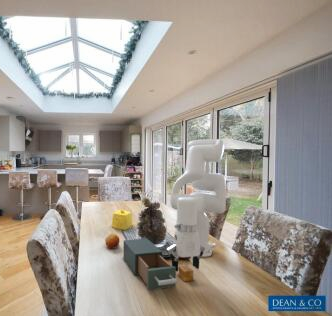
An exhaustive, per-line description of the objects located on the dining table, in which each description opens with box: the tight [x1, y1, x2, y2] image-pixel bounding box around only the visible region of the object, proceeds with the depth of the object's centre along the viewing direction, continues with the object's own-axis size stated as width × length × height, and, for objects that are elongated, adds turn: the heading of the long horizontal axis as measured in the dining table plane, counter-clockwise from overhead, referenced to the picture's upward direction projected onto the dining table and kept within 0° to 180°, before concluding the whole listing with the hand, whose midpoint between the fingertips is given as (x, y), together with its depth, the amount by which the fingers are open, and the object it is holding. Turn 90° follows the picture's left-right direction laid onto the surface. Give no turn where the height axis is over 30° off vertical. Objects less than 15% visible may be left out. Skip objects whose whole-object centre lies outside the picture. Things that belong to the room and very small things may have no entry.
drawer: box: [137, 254, 178, 291], centre depth 83 cm, size 18×11×7 cm, turn 12°
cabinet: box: [123, 238, 163, 276], centre depth 96 cm, size 15×13×9 cm
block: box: [178, 265, 194, 282], centre depth 86 cm, size 4×4×4 cm
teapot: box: [111, 209, 133, 231], centre depth 148 cm, size 20×12×12 cm, turn 150°
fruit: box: [104, 233, 120, 249], centre depth 115 cm, size 8×8×8 cm
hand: (185, 268), depth 86 cm, fingers open, 9 cm apart
